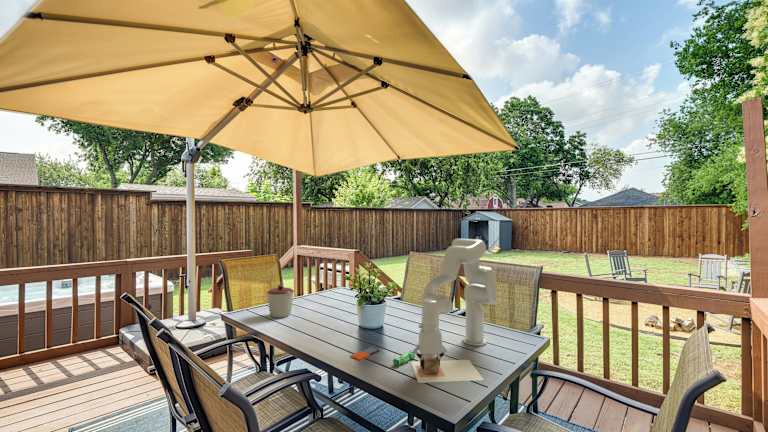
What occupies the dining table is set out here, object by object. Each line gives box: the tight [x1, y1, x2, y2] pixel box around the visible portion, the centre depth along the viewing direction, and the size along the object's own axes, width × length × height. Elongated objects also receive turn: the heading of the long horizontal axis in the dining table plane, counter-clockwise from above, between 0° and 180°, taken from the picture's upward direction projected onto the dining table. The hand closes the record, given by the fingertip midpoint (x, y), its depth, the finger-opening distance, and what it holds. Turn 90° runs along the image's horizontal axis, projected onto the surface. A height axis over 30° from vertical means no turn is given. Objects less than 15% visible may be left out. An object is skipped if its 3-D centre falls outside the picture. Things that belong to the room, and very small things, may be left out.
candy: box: [392, 350, 416, 366], centre depth 165 cm, size 12×3×4 cm
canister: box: [265, 284, 295, 319], centre depth 235 cm, size 18×18×21 cm
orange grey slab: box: [350, 346, 380, 361], centre depth 173 cm, size 6×1×15 cm
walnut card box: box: [424, 355, 439, 373], centre depth 155 cm, size 6×9×4 cm, turn 5°
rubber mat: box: [410, 359, 485, 384], centre depth 155 cm, size 20×28×1 cm
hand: (429, 367), depth 155 cm, fingers closed on walnut card box, 5 cm apart
